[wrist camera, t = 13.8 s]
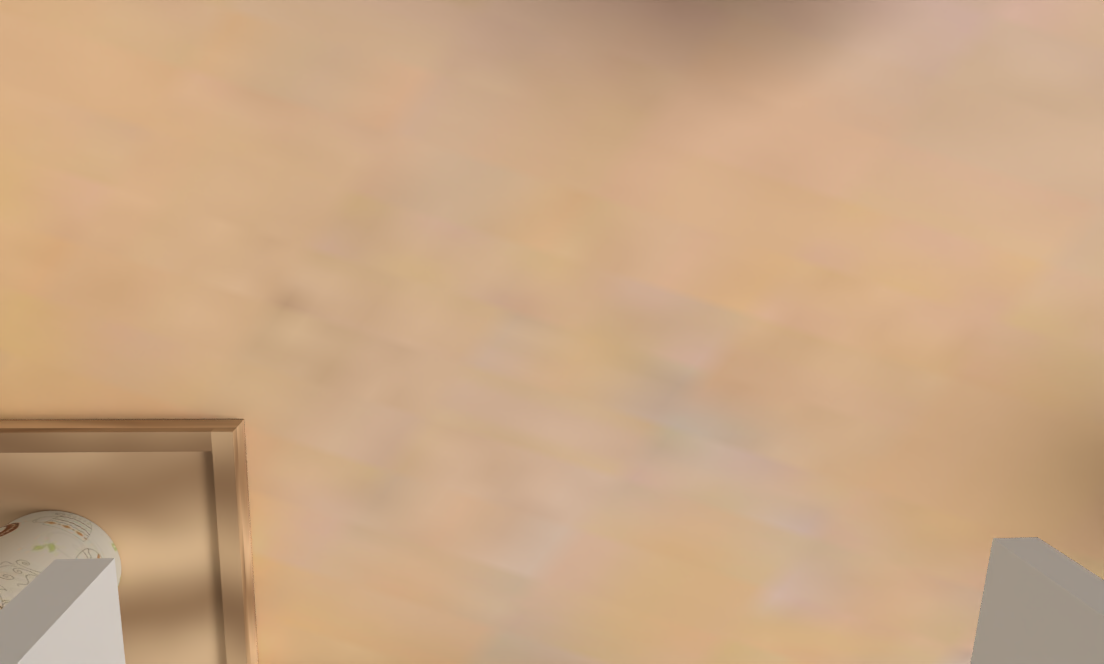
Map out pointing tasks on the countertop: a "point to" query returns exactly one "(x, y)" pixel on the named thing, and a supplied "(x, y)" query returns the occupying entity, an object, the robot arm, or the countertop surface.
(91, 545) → the mug
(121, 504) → the wooden tray
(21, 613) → the robot arm
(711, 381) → the countertop surface
